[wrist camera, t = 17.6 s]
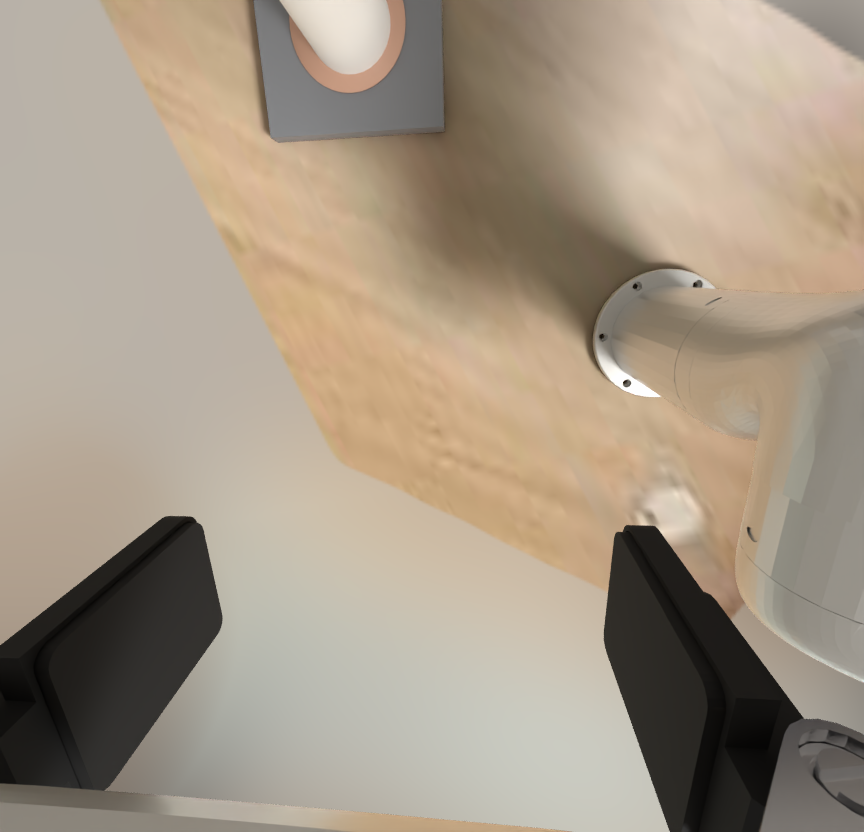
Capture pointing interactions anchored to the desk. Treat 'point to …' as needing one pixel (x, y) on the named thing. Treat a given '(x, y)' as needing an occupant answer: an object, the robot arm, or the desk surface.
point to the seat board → (353, 79)
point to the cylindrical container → (343, 31)
